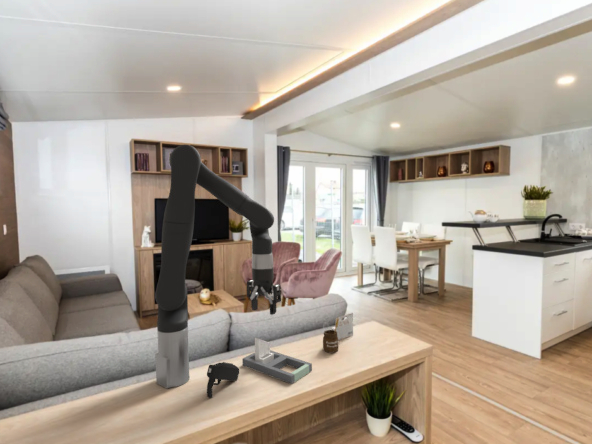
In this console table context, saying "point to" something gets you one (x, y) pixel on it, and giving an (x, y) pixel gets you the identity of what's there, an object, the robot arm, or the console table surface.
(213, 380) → the gun
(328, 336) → the utensil holder
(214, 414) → the console table surface
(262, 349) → the white wedge bracket
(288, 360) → the port panel
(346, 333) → the ink cartridge box
